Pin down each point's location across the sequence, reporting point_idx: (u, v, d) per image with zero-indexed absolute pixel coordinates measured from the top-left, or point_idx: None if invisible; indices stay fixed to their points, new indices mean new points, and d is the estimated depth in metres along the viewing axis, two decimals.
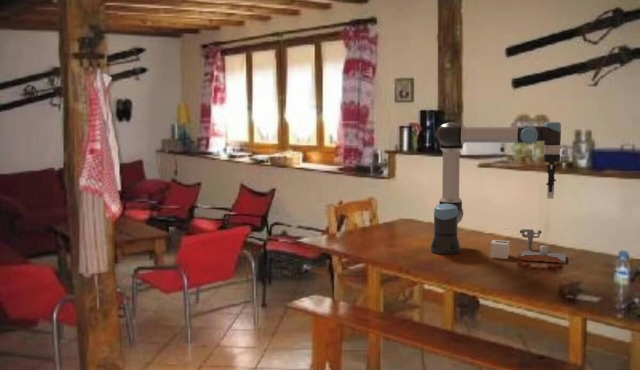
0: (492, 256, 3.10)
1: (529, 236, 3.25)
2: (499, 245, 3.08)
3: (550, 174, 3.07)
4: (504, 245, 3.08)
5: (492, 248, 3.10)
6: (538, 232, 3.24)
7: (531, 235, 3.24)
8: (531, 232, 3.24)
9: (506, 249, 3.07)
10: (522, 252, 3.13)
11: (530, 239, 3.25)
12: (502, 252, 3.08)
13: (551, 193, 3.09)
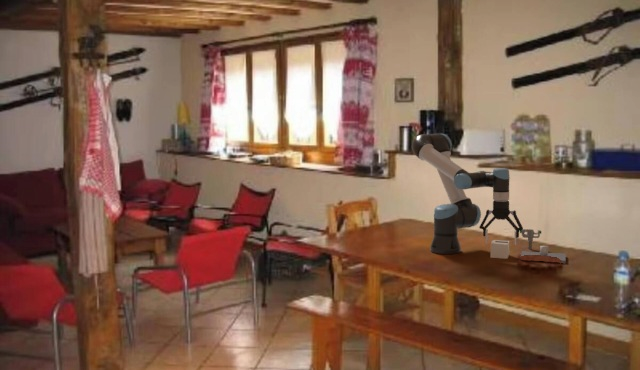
0: (492, 256, 3.10)
1: (529, 236, 3.25)
2: (499, 245, 3.08)
3: None
4: (504, 245, 3.08)
5: (492, 248, 3.10)
6: (538, 232, 3.24)
7: (531, 235, 3.24)
8: (531, 232, 3.24)
9: (506, 249, 3.07)
10: (522, 252, 3.13)
11: (530, 239, 3.25)
12: (502, 252, 3.08)
13: None
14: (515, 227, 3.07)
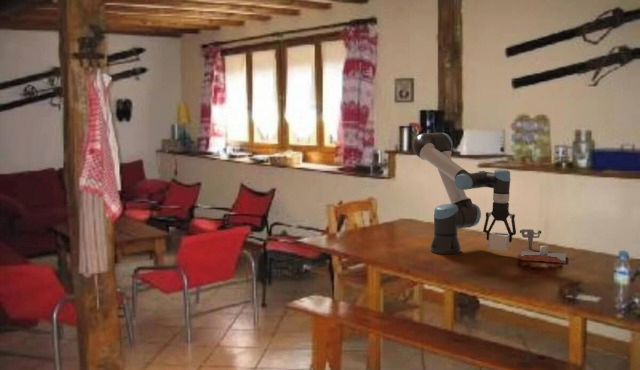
0: (491, 248, 3.10)
1: (529, 236, 3.25)
2: (498, 237, 3.08)
3: (485, 222, 3.14)
4: (503, 237, 3.08)
5: (491, 240, 3.10)
6: (538, 232, 3.24)
7: (531, 235, 3.24)
8: (531, 232, 3.24)
9: (505, 241, 3.07)
10: (522, 252, 3.13)
11: (530, 239, 3.25)
12: (501, 244, 3.08)
13: None
14: (509, 231, 3.09)
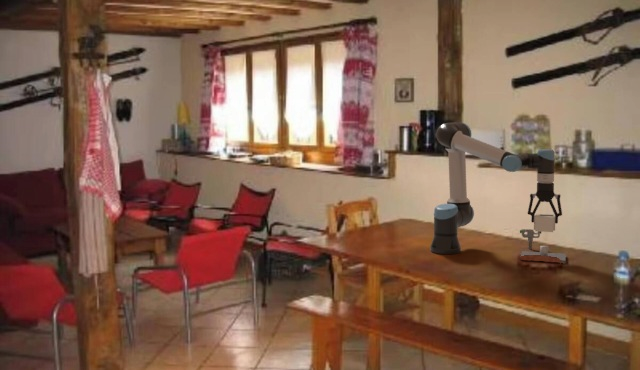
0: (537, 230, 3.02)
1: (529, 236, 3.25)
2: (544, 218, 3.00)
3: (529, 204, 3.06)
4: (549, 218, 2.99)
5: (537, 222, 3.02)
6: (538, 232, 3.24)
7: (531, 235, 3.24)
8: (531, 232, 3.24)
9: (551, 222, 2.99)
10: (522, 252, 3.13)
11: (530, 239, 3.25)
12: (547, 225, 3.00)
13: None
14: (555, 212, 3.01)
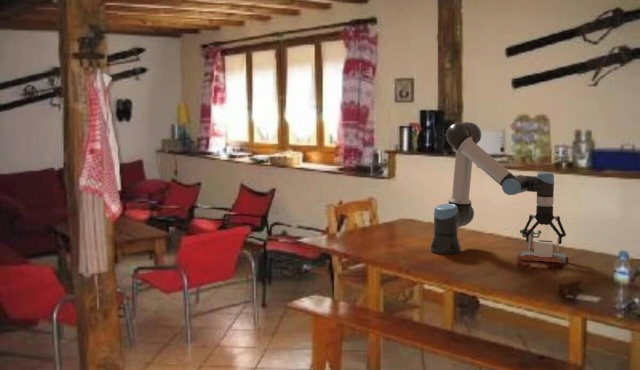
0: (536, 255, 3.04)
1: None
2: (543, 244, 3.02)
3: (526, 224, 3.08)
4: (548, 244, 3.01)
5: (536, 248, 3.03)
6: (538, 232, 3.24)
7: (531, 235, 3.24)
8: (531, 232, 3.24)
9: (550, 248, 3.01)
10: (522, 252, 3.13)
11: None
12: (546, 251, 3.02)
13: None
14: (558, 233, 3.01)
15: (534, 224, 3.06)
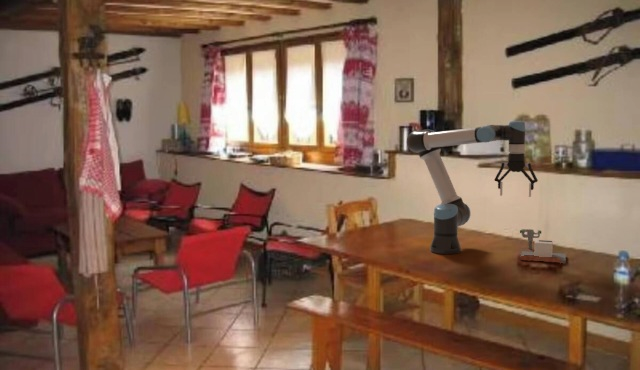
0: (536, 255, 3.04)
1: (529, 236, 3.25)
2: (543, 244, 3.02)
3: None
4: (548, 244, 3.01)
5: (536, 248, 3.03)
6: (538, 232, 3.24)
7: (531, 235, 3.24)
8: (531, 232, 3.24)
9: (550, 248, 3.01)
10: (522, 252, 3.13)
11: (530, 239, 3.25)
12: (546, 251, 3.02)
13: (500, 190, 3.17)
14: (530, 179, 3.11)
15: None
